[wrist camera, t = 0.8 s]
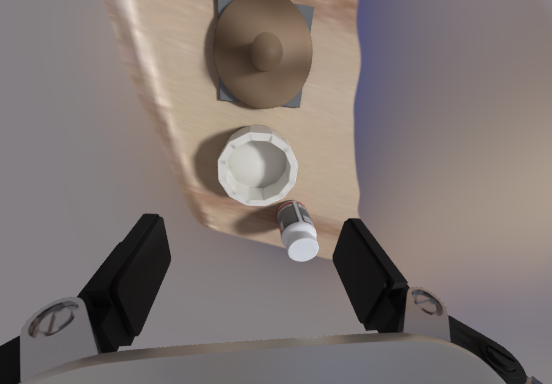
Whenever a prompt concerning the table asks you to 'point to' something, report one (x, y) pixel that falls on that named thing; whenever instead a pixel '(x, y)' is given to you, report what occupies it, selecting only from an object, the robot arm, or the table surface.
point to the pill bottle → (297, 231)
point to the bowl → (257, 166)
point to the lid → (263, 51)
